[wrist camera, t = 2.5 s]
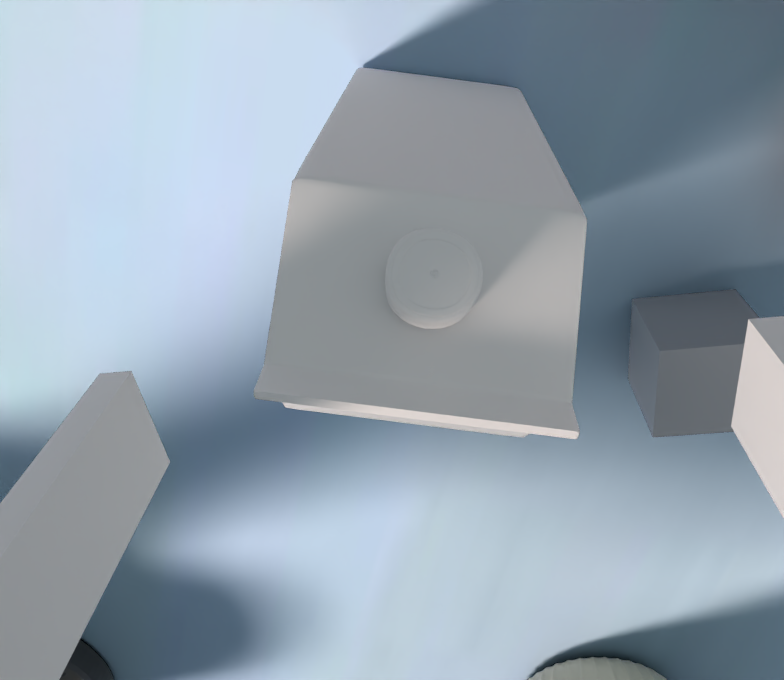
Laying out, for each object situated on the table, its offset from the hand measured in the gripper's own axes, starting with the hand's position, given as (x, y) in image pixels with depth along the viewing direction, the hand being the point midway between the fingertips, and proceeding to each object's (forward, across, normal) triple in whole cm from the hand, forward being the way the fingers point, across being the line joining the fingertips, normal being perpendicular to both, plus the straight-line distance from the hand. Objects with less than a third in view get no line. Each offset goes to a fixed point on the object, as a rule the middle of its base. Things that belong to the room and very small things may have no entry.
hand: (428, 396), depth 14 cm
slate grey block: (+19, +12, -11) cm, 25 cm away
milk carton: (+19, 0, 0) cm, 19 cm away
